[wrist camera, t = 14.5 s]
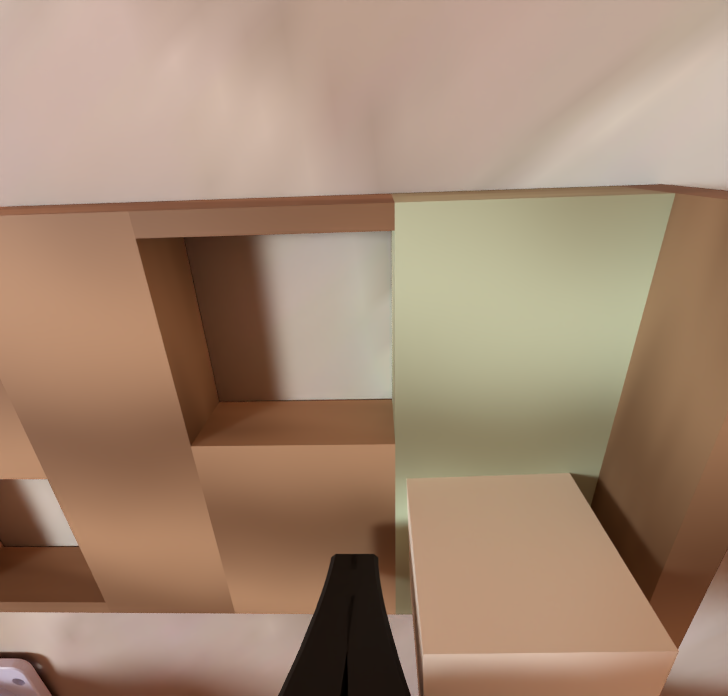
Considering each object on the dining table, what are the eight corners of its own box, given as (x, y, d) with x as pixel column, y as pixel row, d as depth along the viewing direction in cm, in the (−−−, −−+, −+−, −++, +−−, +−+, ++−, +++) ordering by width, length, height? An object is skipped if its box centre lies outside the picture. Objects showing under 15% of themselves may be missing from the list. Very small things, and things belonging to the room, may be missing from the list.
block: (549, 580, 12) (627, 769, 8) (410, 583, 12) (424, 770, 8) (569, 472, 10) (678, 651, 6) (406, 478, 10) (423, 654, 7)
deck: (566, 556, 14) (643, 718, 10) (-109, 556, 15) (-287, 703, 11) (661, 184, 9) (895, 207, 5) (-365, 219, 10) (-873, 262, 6)
